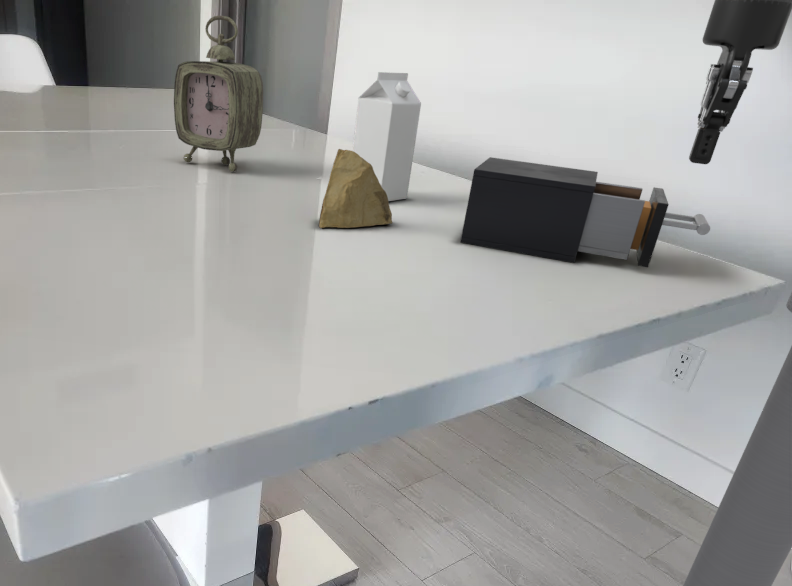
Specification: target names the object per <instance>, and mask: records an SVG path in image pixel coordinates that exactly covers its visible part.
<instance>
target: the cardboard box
mask: <svg viewBox="0 0 792 586" xmlns="http://www.w3.org/2000/svg"><path fill="white" fill-rule="evenodd" d="M650 211H651V205H650V201H649V200H645V204H644V207H643V210H642V213H641V216H640V220H639V223H638V226H637V229H636V232H635V236H634V239H633V242H632V245H631V249H630V250H634V251H636V250H638V249H639V246H640V243H641V240H642V237H643V233H644V230H645V227H646V224H647V221H648V218H649V214H650Z"/></svg>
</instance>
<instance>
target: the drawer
mask: <svg viewBox="0 0 792 586" xmlns="http://www.w3.org/2000/svg"><path fill="white" fill-rule="evenodd" d="M642 193H643V188H642V187H637V186H636V187H635V186H631V185H622V184H616V183H609V182H600V181H596V185H595V190H594V193H593V197H592V200H591V204H590V208H589V211H588V215H587V219H586V222H585V226H584V230H583V233H582V237H581V241H580V244H579V248H578V251H577V252H581V253H585V254H590V255H597V256H601V257H602V256H603V257H608V258H614V259H620V260H625V261H627V260H628V258H629V254H630V252H631V250H632V249H631V245H632V242H633V239H634V236H635V232H636V229H637V226H638V223H639V220H640V216H641V213H642V210H643V207H644V204H645V201H646V200H645V199H641V196H642ZM648 201H650V205H651V211H650V214H649V218H648V221H647V224H646V227H645V230H644V233H643V237H642V240H641V243H640V246H639V249H638V250H635V252H636V262H637V266H638V267H642V268H649V266H650V263H651V260H652V257H653V254H654V251H655V249H656V245H657V241H658V238H659V236H660V232H661V229H662V226H667V227H672V228H679V229H685V230H693V231H696V232H697V234H698V235H700V236H705V235H707V234H709V233H710V231H711V226H710V224H709V221H708V220H707V218H706V216H705V215H704V214H703V213H702V214H701V213H697V214H695V215H694V216H692V215H685V214H678V213H672V212H667V211H668V208H669V205H670V204H669V200H668V198H667V195H666V193H665V189H664V188H661V187H655V186H654V187H653V188H652V191H651V194H650V197H649V200H648ZM691 222H692V223H691Z"/></svg>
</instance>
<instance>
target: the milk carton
mask: <svg viewBox="0 0 792 586" xmlns="http://www.w3.org/2000/svg"><path fill="white" fill-rule="evenodd" d="M376 77H377V79H376V80H375V82H373V83H372V84H371V85H370V86H369V87H367V89H366V90H365V91H364V92H363V93H362V94H361V95H360V96H359V97H358V98H357V107H356V117H355V125H354V134H353V141H352V142H353V143H352V151H354V152H355V153H357V154H358V155H359V156H360V157H362V158H363V159H364V160H365V161H367V162H368V163H370V164H371V165H372V167H373V170H374V173H375V175H376V177H377V178H378V180H379V183H380V185H381V187H382V188H383V190H384V191H385V192H386V194H387V197H388V202H393V201H400V200H405V199H408V193H409V187H410V180H411V174H412V166H413V161H414V154H415V148H416V141H417V134H418V127H419V121H420V115H421V114H420V113H421V107H422V102H421V100H420V98H419V97H418V95H417V94H416V93H415V91H414V89H413V88H412V86H411V84H410V82H409V81H408V78H409V73H408V72H386V71H384V72H383V71H378V72H377V76H376Z"/></svg>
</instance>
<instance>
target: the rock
mask: <svg viewBox="0 0 792 586" xmlns="http://www.w3.org/2000/svg"><path fill="white" fill-rule="evenodd" d="M389 202H390V201H388V197H387V194H386V192H385V191H384V190H383V188H382V187H381V185H380V183H379V180H378V178H377V177H376V175H375V173H374V170H373V167H372V165H371V164H370V163H368V162H367V161H365V160H364V159H363V158H362V157H360V156H359V155H358V154H357V153H355V152H354V151H353V150H351V149H342V148H338V149H337V152H336V155H335V158H334V161H333V164H332V167H331V171H330V175H329V179H328V183H327V187H326V190H325V194H324V196H323V200H322V203H321V209H320V212H319V213H320V214H319V218H318V219H319V221H318V226H319V228H320V229H325V228H338V229H349V228H350V229H351V228H363V227H375V226H382V225H390V224H391V225H392V224H393V213H392V210H391V206H390V203H389Z"/></svg>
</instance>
